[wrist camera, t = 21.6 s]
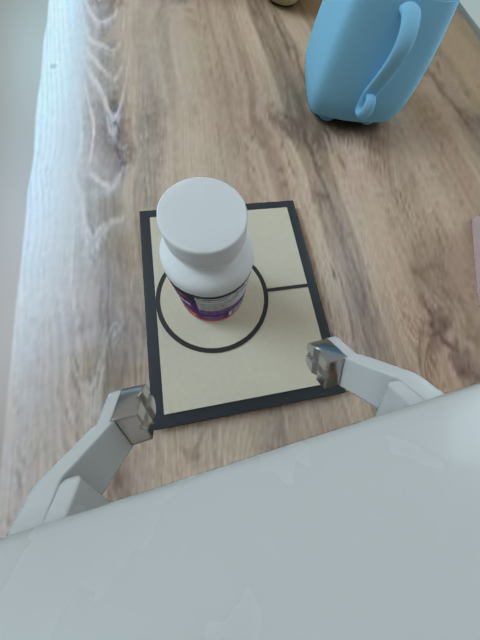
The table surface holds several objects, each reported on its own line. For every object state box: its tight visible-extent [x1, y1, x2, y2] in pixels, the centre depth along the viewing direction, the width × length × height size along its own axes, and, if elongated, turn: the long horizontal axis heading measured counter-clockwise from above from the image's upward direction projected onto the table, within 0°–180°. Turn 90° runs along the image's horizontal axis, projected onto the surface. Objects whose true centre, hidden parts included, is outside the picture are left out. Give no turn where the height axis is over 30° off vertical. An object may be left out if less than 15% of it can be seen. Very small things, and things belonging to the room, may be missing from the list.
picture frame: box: [140, 201, 345, 430], centre depth 19 cm, size 16×20×1 cm
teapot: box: [305, 0, 460, 125], centre depth 23 cm, size 12×18×12 cm
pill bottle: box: [156, 177, 254, 322], centre depth 13 cm, size 5×5×10 cm
